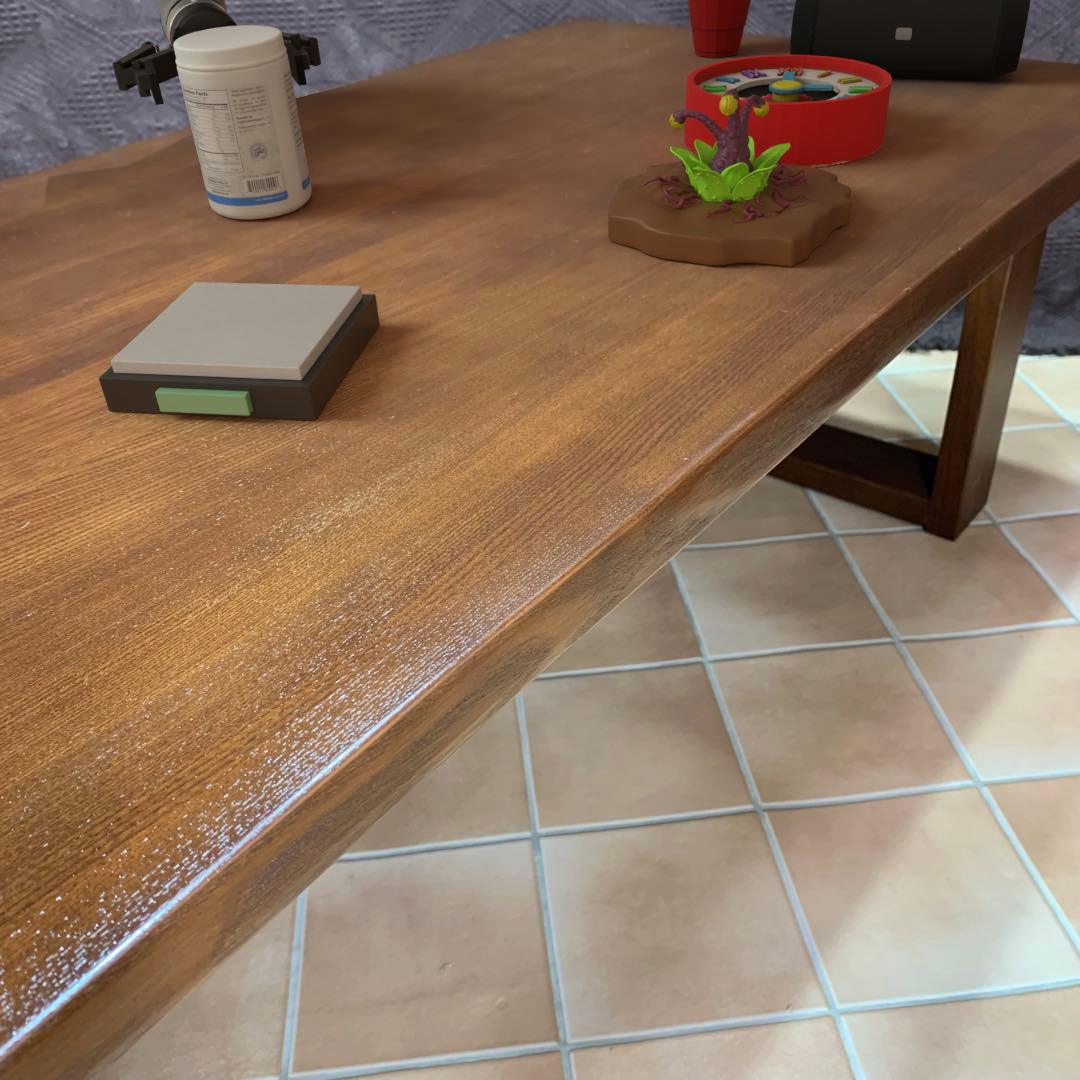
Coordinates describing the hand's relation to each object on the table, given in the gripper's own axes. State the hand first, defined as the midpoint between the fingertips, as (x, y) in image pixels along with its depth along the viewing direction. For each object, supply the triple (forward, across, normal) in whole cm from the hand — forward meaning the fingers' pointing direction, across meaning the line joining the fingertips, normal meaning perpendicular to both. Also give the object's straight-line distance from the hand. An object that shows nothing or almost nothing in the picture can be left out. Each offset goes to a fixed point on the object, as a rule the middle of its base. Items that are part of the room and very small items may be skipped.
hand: (229, 79), depth 102 cm
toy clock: (+14, +52, +10) cm, 55 cm away
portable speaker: (-1, +78, +10) cm, 78 cm away
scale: (+43, -6, +9) cm, 44 cm away
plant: (+33, +36, +10) cm, 50 cm away
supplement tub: (+9, 0, +10) cm, 13 cm away
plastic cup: (-24, +65, +10) cm, 70 cm away
